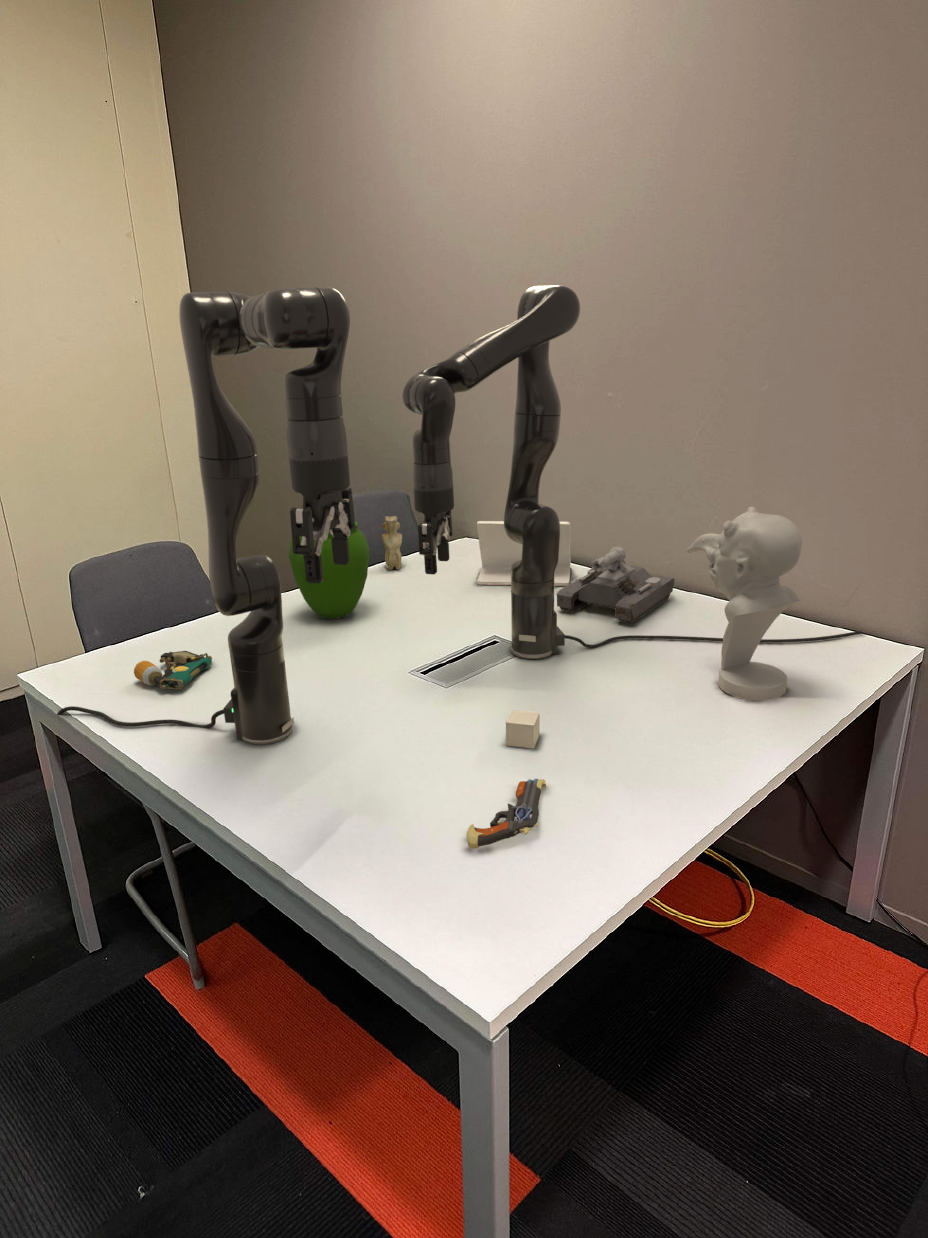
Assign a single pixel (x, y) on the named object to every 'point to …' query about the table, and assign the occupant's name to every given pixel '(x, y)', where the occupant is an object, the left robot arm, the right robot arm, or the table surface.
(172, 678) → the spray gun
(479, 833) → the toy gun
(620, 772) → the table surface
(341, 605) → the vase
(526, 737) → the beige cube
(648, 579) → the toy
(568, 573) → the tablet stand
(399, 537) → the sculpture
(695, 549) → the bust sculpture
